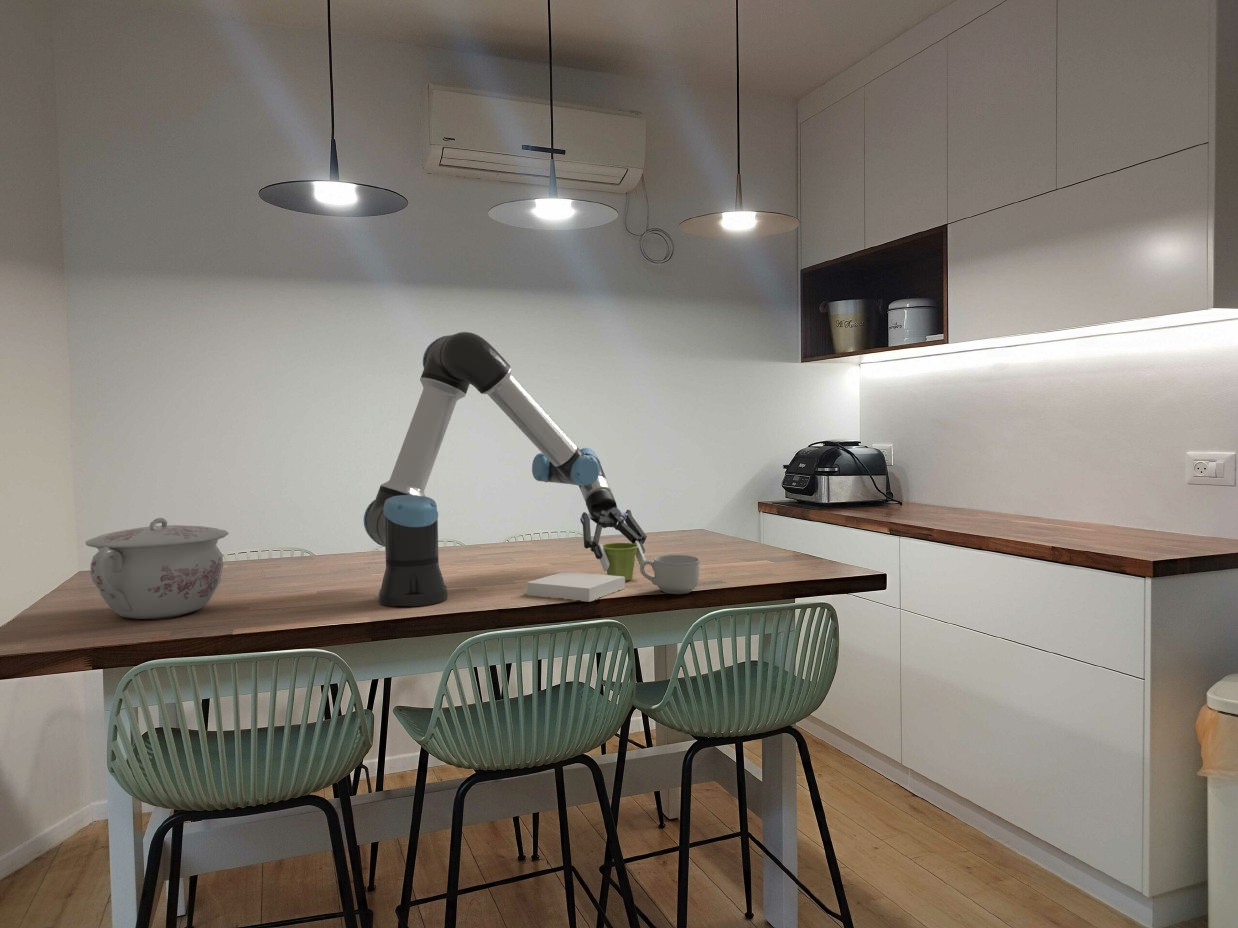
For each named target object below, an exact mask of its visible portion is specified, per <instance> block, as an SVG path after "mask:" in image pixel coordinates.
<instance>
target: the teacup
mask: <svg viewBox="0 0 1238 928" xmlns="http://www.w3.org/2000/svg"><path fill="white" fill-rule="evenodd" d="M700 562H701V559H700V558H699V557H697V556H694V555H690V554H689V555H687V554H679V553H677V554H676V553H674V554H660V555H658V556H655V557H654V559H653V560H650V559H646V560H645V561H643V562H642V563H641V565H639V572H640V574H641V575H642V576H643V577H644V578H645V579H647V580H649V581H650V582H651V584H653V585H654V586H656V587H658V588H659V589H660V590H661V591H662V592H663V593H666V594H669V595H670V594H671V595H683V594H684V595H686V594H689V593H691V592H692V591H693V590H694V589H695V588H696V587H697V586H698V584H699V580H700ZM646 565H650V566H651V568H652V571H653V574H654V576H651V575H649V574H647V572H646V571H645V566H646Z"/></svg>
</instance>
